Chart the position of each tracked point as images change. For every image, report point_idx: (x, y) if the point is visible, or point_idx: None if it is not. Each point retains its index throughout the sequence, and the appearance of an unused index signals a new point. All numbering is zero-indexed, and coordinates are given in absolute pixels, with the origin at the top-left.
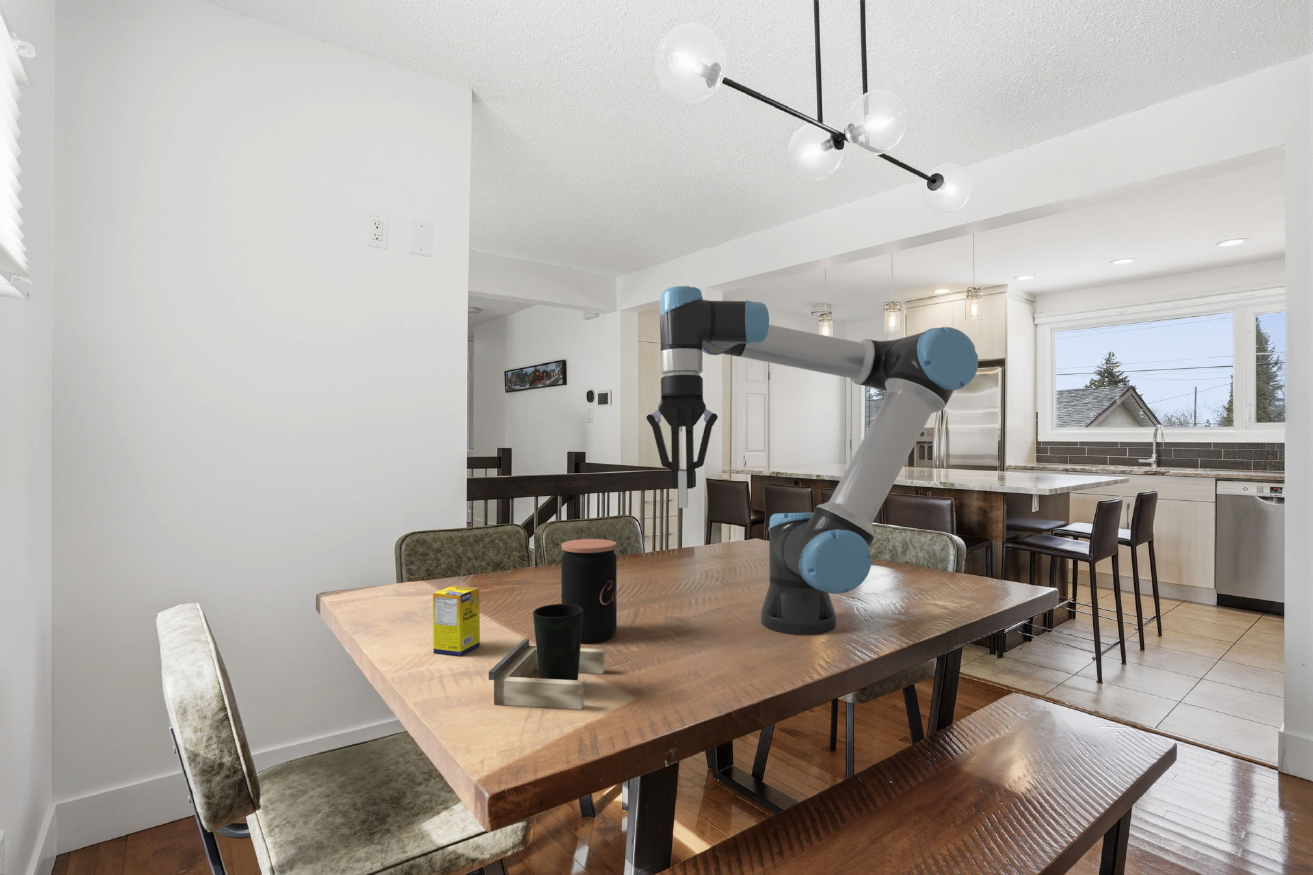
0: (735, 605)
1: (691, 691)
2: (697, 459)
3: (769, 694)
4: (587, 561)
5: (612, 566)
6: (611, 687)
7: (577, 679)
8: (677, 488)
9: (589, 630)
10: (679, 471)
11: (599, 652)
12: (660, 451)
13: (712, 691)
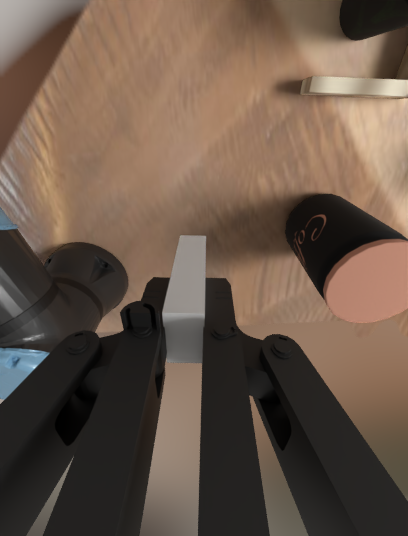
0: None
1: (185, 19)
2: (79, 365)
3: (85, 20)
4: (375, 232)
5: (320, 252)
6: (292, 22)
7: (345, 2)
8: (209, 279)
9: (322, 196)
10: (198, 313)
11: (317, 76)
12: (341, 430)
13: (158, 23)
